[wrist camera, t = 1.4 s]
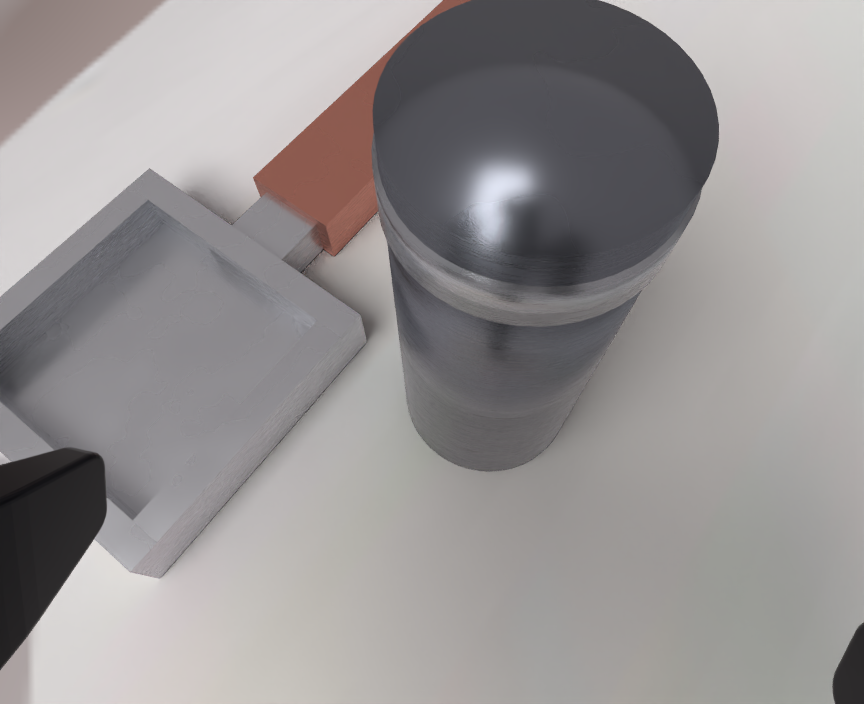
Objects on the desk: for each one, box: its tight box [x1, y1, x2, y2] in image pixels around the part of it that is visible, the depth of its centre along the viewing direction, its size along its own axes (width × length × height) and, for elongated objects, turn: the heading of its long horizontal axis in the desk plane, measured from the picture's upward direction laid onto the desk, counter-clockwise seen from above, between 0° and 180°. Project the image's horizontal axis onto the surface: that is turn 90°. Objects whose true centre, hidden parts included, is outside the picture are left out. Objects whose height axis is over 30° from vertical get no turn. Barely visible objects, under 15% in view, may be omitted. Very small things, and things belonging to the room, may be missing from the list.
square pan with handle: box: [0, 0, 471, 579], centre depth 24 cm, size 27×10×2 cm, turn 143°
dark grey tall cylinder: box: [371, 0, 719, 471], centre depth 16 cm, size 6×6×13 cm
